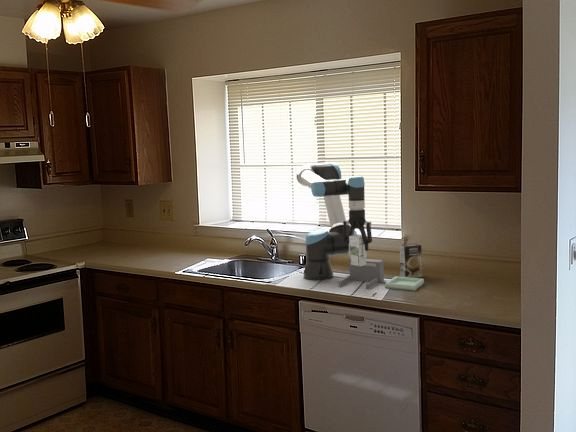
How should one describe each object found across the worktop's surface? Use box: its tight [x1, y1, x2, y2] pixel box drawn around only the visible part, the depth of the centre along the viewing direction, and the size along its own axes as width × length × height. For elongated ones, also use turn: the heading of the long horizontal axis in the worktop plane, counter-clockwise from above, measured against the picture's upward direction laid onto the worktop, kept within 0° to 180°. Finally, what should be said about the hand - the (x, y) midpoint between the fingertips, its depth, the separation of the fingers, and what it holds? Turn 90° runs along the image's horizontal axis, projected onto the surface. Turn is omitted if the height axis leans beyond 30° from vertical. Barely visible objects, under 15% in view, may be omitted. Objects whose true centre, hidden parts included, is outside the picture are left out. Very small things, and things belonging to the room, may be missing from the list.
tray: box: [384, 276, 425, 292], centre depth 285 cm, size 14×14×2 cm
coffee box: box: [399, 243, 423, 278], centre depth 301 cm, size 9×6×16 cm
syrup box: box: [349, 233, 367, 267], centre depth 289 cm, size 6×6×14 cm
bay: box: [337, 258, 385, 290], centre depth 293 cm, size 16×19×10 cm
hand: (358, 256), depth 290 cm, fingers closed on syrup box, 6 cm apart
